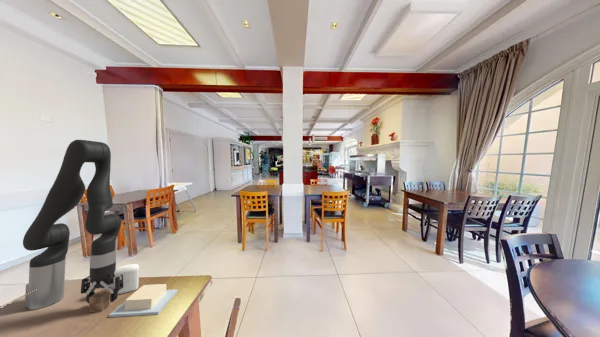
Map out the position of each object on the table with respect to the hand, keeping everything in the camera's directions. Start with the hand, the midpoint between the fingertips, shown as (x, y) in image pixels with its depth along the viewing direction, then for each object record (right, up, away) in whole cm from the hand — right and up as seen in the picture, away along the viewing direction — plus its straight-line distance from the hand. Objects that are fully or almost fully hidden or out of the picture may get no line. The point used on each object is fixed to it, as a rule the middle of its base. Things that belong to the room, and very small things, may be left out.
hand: (102, 301), depth 76 cm
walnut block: (0, -3, 0) cm, 3 cm away
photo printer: (0, -3, +10) cm, 11 cm away
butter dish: (+16, -3, +3) cm, 17 cm away
